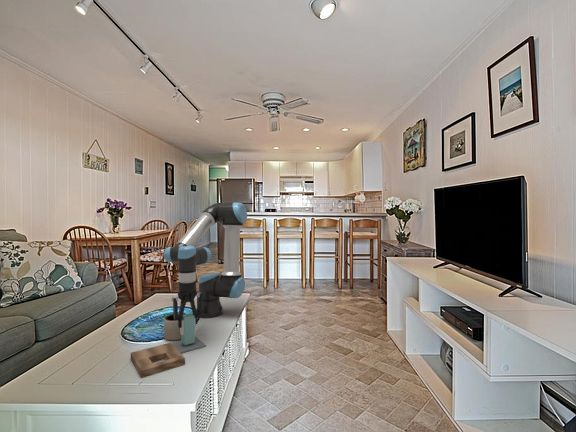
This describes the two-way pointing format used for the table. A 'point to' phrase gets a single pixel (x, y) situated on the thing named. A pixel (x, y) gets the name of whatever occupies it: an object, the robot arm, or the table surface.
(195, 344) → the rubber mat
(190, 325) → the teal block
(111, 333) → the table surface
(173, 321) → the planter
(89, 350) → the table surface
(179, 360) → the pocket board
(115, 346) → the table surface
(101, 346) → the table surface
